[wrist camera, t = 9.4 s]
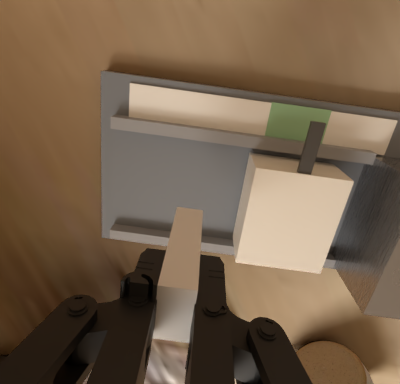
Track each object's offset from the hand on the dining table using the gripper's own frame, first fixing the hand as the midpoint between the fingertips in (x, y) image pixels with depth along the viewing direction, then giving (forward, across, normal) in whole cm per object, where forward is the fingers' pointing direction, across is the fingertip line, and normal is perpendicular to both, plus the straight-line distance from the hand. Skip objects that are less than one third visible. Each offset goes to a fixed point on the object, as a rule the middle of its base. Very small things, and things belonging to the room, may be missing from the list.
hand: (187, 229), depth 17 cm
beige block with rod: (+5, +7, +2) cm, 9 cm away
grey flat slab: (+7, +13, 0) cm, 15 cm away
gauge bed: (+7, +4, +1) cm, 8 cm away
